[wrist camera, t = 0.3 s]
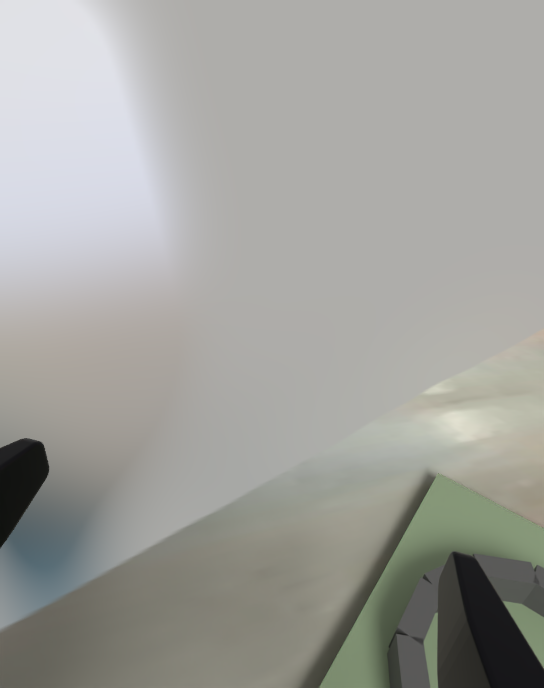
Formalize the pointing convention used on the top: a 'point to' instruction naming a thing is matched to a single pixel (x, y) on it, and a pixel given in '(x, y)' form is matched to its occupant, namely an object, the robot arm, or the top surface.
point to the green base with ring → (422, 588)
